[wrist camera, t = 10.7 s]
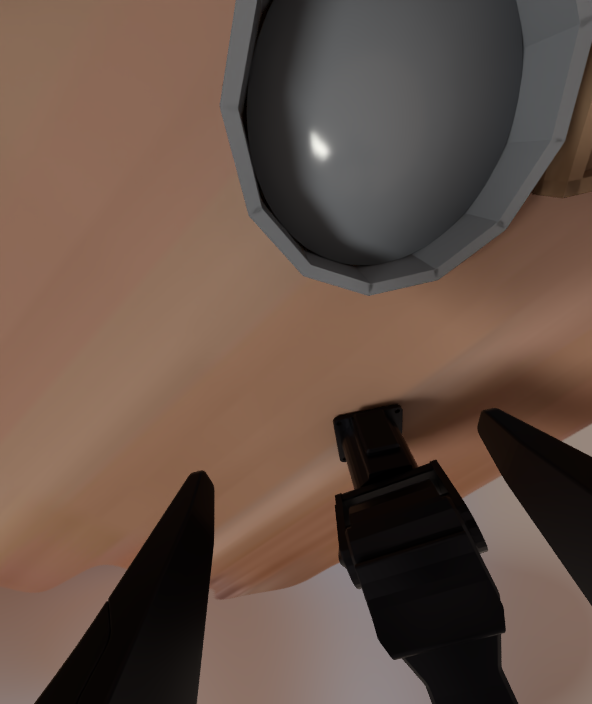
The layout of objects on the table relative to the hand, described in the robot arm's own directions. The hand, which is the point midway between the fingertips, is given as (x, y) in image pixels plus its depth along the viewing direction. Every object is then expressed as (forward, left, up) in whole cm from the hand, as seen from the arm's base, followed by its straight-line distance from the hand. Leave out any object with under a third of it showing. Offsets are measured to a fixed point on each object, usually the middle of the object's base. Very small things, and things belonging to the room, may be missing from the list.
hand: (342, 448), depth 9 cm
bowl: (+8, -6, -13) cm, 16 cm away
